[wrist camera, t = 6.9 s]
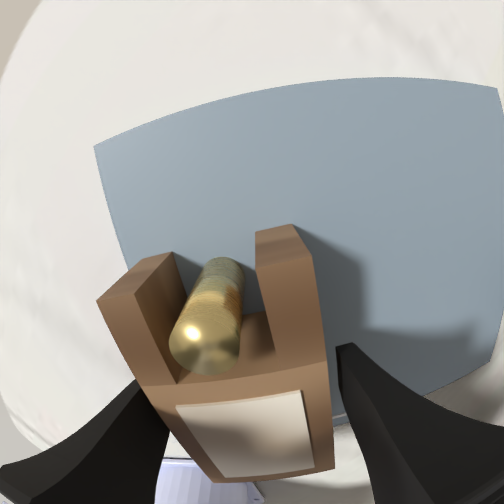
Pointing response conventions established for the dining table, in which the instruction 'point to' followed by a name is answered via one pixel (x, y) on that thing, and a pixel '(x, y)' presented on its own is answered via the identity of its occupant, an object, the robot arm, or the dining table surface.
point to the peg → (211, 320)
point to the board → (337, 209)
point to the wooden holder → (236, 367)
